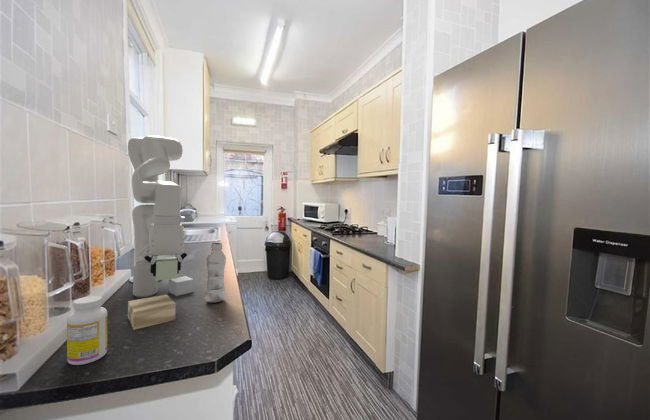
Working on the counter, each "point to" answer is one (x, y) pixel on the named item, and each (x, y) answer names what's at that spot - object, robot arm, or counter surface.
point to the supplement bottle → (86, 331)
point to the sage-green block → (166, 268)
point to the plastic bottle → (215, 274)
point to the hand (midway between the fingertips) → (165, 273)
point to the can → (144, 280)
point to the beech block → (151, 311)
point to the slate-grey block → (181, 285)
